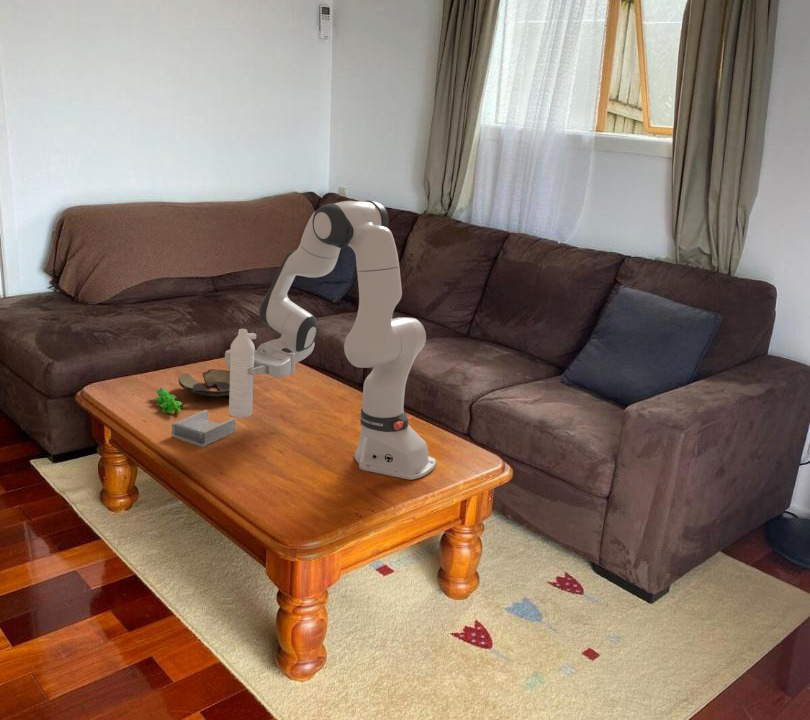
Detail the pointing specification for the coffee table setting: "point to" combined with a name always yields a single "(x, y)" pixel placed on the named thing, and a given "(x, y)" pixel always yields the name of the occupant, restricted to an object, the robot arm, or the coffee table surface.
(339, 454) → the coffee table surface
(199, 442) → the keeper cradle
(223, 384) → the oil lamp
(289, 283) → the robot arm
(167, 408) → the crocodile figurine
